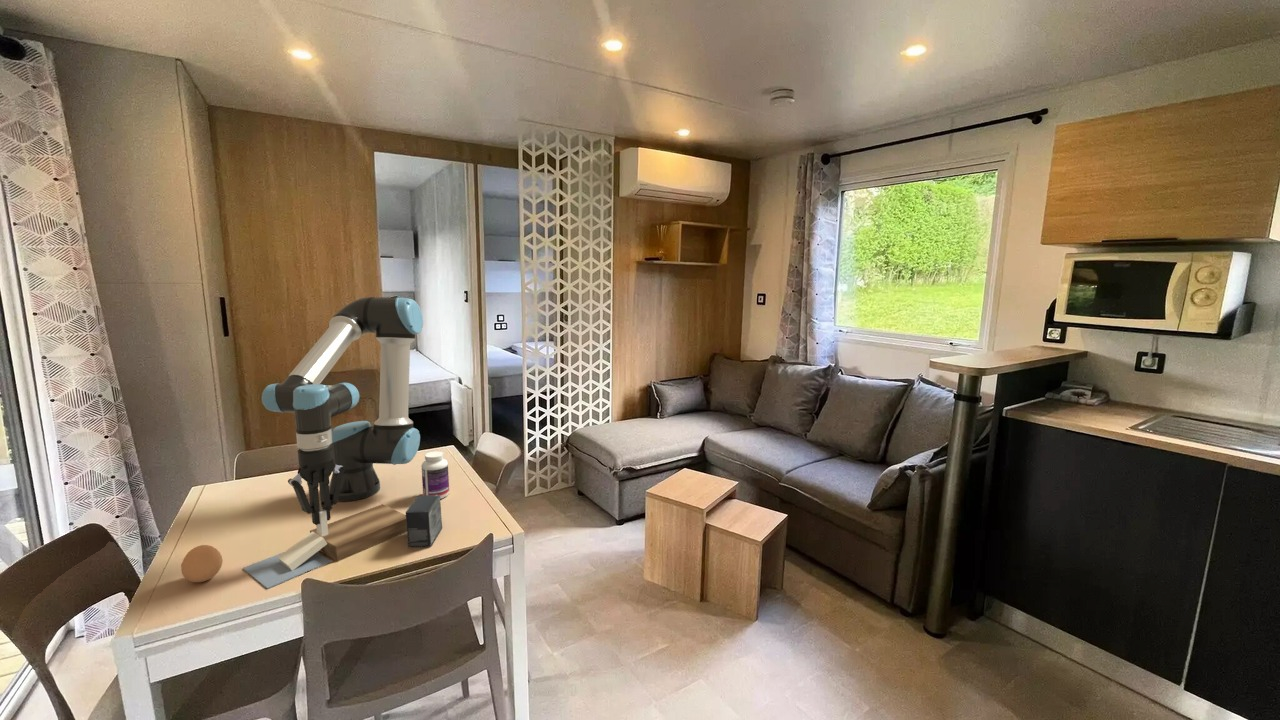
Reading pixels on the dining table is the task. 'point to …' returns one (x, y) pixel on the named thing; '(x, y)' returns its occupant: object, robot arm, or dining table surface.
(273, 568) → the mat
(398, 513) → the wooden block
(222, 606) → the dining table surface
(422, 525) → the small box
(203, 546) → the egg
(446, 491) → the pill bottle
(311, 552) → the cream butter stick
